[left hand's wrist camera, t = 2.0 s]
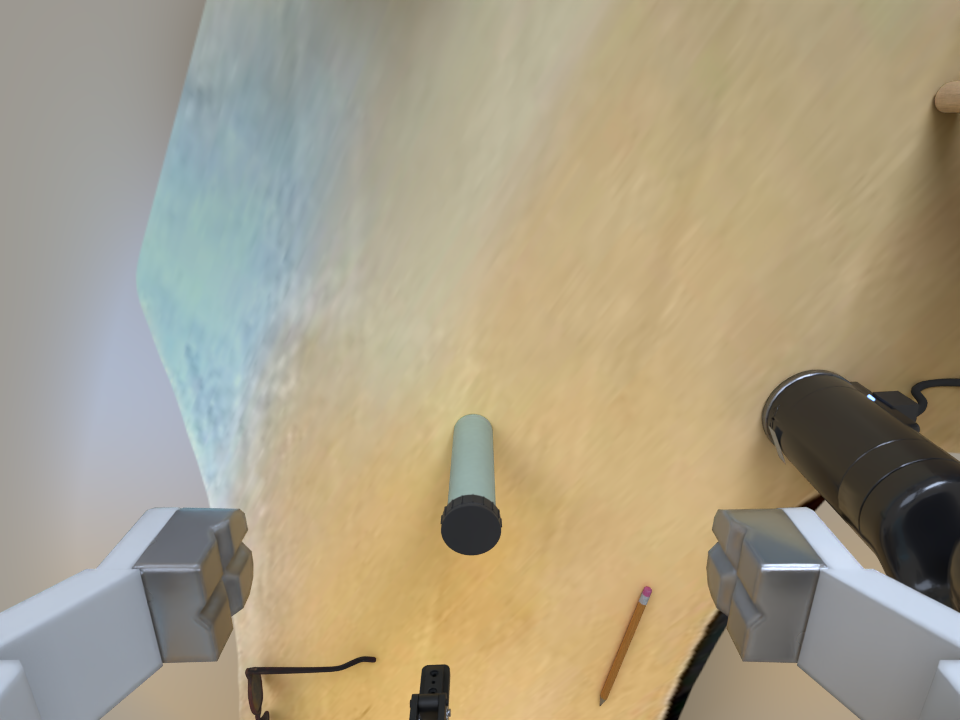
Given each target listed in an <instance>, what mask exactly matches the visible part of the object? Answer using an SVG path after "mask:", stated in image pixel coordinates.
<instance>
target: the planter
mask: <svg viewBox="0 0 960 720" xmlns="http://www.w3.org/2000/svg"><path fill="white" fill-rule="evenodd" d="M935 105H936V108H937V109H938V110H939V111H941V112H943V113H960V81H951V82H948V83H946V84H944V85H943V86H942V87H941V88H940V89H939V90H938V92H937V94H936V97H935Z"/></svg>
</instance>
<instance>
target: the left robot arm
mask: <svg viewBox="0 0 960 720" xmlns="http://www.w3.org/2000/svg"><path fill="white" fill-rule="evenodd" d="M247 531H248V527H247V523H246V518H245V513H243V512H242V511H241V510H240V509H222V508H152V509H149V510H147V511H146V512H145V513H144V514H143V515H142V516H141V518H140V519H139V520H138V521H137V522H136V523H135V524H134V526H133V527H132V528H131V529H130V530H129V531H128V532H127V534H126V535H125V536H124V537H123V538H122V539H121V541H120V542H119V543H118V544H117V545H116V546H115V547H114V549H113V550H112V551H111V552H110V553H109V554H108V556H107V557H106V558H105V559H104V560H103V561H102V562H101V564H100V565H99V566H98V567H97V568H96V569H86V570H83V571H81V572H80V573H78V574H76V575H74V576H72V577H70V578H68V579H66V580H64V581H62V582H60V583H58V584H56V585H54V586H52V587H50V588H48V589H46V590H44V591H42V592H40V593H38V594H36V595H34V596H32V597H30V598H29V599H27V600H24V601H22V602H21V603H19V604H17V605H15V606H13V607H11V608H9V609H7V610H5V611H3V612H1V613H0V720H99V719H101V718H102V717H103V716H104V715H105V714H107V713H108V712H109V711H110V710H111V709H112V708H114V707H115V706H116V705H117V704H118V703H120V702H121V701H122V700H123V699H124V698H125V697H126V696H128V695H129V694H130V693H131V692H133V691H134V690H135V689H136V688H137V687H138V686H140V685H141V684H142V683H143V682H144V681H145V680H147V679H148V678H149V677H150V676H151V675H153V674H154V673H155V672H156V671H157V670H158V669H160V668H161V667H162V666H163V664H162V663H177V662H211V661H218V659H219V657H220V654H221V652H222V650H223V648H224V646H225V644H226V642H227V640H228V638H229V636H230V634H231V632H232V630H233V624H232V618H231V616H233V615H234V614H236V613H237V612H238V611H240V610H241V609H243V608H244V605H245V603H246V601H247V599H248V597H249V594H250V590H251V585H252V581H253V558H252V551H251V550H250V549H249V548H248V547H247V546H246V545H245V544H244V543H243V542H242V540H243V538H244V536H245V534H246V533H247ZM712 531H713V533H714V534H715V536H716V538H717V540H718V542H717V543H716V544H715V545H714V546H713V547H712V548H711V549H710V550H709V551H708V559H707V567H706V569H707V581H708V587H709V590H710V594H711V597H712V599H713V601H714V603H715V605H716V608H717V609H719V610H720V611H722V612H723V613H724V614H726V615H727V616H729V618H728V624H727V630H728V632H729V634H730V636H731V638H732V640H733V642H734V644H735V646H736V648H737V650H738V652H739V654H740V656H741V658H742V660H743V661H748V662H783V663H797V666H798V667H799V668H801V669H802V670H803V671H804V672H805V673H807V674H808V675H809V676H810V677H811V678H812V679H814V680H815V681H816V682H817V683H818V684H819V685H821V686H822V687H823V688H824V689H825V690H827V691H828V692H829V693H830V694H831V695H832V696H834V697H835V698H836V699H837V700H838V701H839V702H841V703H842V704H843V705H844V706H845V707H847V708H848V709H849V710H850V711H851V712H852V713H854V714H855V715H856V716H857V717H858V718H860V719H861V720H960V613H959V612H957V611H955V610H953V609H951V608H949V607H947V606H945V605H943V604H941V603H939V602H937V601H935V600H933V599H931V598H929V597H928V596H926V595H924V594H922V593H920V592H918V591H916V590H914V589H912V588H910V587H908V586H906V585H904V584H902V583H900V582H898V581H896V580H894V579H892V578H890V577H888V576H886V575H884V574H882V573H880V572H878V571H877V570H875V569H864V568H863V567H862V566H861V565H860V564H859V563H858V561H857V560H856V559H855V558H854V557H853V556H852V554H851V553H850V552H849V551H848V550H847V549H846V548H845V546H844V545H843V544H842V543H841V542H840V541H839V540H838V538H837V537H836V536H835V535H834V534H833V533H832V531H831V530H830V529H829V528H828V527H827V526H826V525H825V523H824V522H823V521H822V520H821V519H820V518H819V516H818V515H817V514H816V513H815V512H814V511H813V510H811V509H809V508H807V507H796V508H777V509H728V510H718V511H717V513H716V515H715V517H714V522H713V527H712Z"/></svg>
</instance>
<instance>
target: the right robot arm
mask: <svg viewBox="0 0 960 720" xmlns="http://www.w3.org/2000/svg"><path fill="white" fill-rule="evenodd" d="M936 386H960V379H935V380H928V381H922V382H920V383H918V384H916V385H915V386H913V387H912V390H911V393H912V395H913V397H914V398H915V399H916V400H917V402H918V404H917V403H916V402H914V401H913V400H911V399H910V398H908V397H907V396H905V395H903V394H902V393H900V392H899V391H888V392H873V393H872V392H871V391H869V390H868V389H867V388H865V387H864V386H862V385H861V384H859V383H858V382H849V381H847V380H846V379H844V378H843V377H841V376H840V375H838V374H836V373H833V372H830V371H826V370H810V371H805V372H801V373H798V374H796V375H794V376H792V377H790V378H788V379H786V380H785V381H784V382H782V383H781V384H780V385H779V386H778V387H777V388H776V389H775V390H774V391H773V392H772V393H771V395H770V396H769V398H768V400H767V402H766V404H765V406H764V410H763V415H762V424H763V428H764V431H765V434H766V435H767V437H768V438H769V440H770V441H771V442H772V443H773V444H774V445H775V446H776V449H777V452H778V455H779V457H780V458H781V460H782V461H783V462H784V463H785V460H784V457H783V454H784V455H785V456H786V457H787V458H788V459H789V460H790V462H791V463H792V464H793V465H794V466H795V467H796V468H797V469H798V470H799V471H800V473H801V474H802V475H803V476H804V477H805V478H806V479H807V480H808V481H809V482H810V483H811V485H812V486H813V487H814V488H815V489H816V490H817V491H818V492H819V493H820V494H821V496H822V497H823V498H824V499H825V500H826V501H827V502H828V503H829V504H830V505H831V506H832V508H833V509H834V510H835V511H836V512H837V513H838V514H839V515H840V516H841V517H842V518H843V520H844V521H845V522H846V523H847V524H848V525H849V526H850V527H851V528H852V529H853V530H854V531H855V533H856V534H857V535H858V536H859V537H860V538H861V539H862V540H863V541H864V542H865V543H866V545H867V546H868V547H869V548H870V549H871V550H872V551H873V552H874V553H875V555H876V556H877V558H878V559H879V561H880V563H881V565H882V567H883V569H884V571H885V573H886V575H887V576H888V577H890V578H892V579H894V580H896V581H898V582H900V583H902V584H904V585H906V586H908V587H910V588H912V589H914V590H916V591H918V592H920V593H922V594H924V595H926V596H928V597H929V598H931V599H933V600H935V601H937V602H939V603H941V604H943V605H945V606H947V607H949V608H951V609H953V610H955V611H957V612H959V613H960V461H958V460H957V459H955V458H954V457H953V456H951V455H950V454H948V453H947V452H946V451H944V450H943V449H941V448H940V447H938V446H937V445H935V444H934V443H933V442H931V441H930V440H928V439H927V438H926V437H924V436H923V435H921V434H920V433H919V432H920V427H919V425H918V424H917V423H916V418H917V416H919V415H920V414H922V413H923V412H924V411H925V409H926V407H927V403H928V402H927V400H926V398H925V397H924V396H923V394H922V393H921V392H920V391H922V390H923V389H925V388H929V387H936ZM781 451H782V452H781ZM782 453H783V454H782ZM785 464H786V463H785ZM449 690H450V668H449V666H448V665H427V666H425V667H423V669H422V674H421V684H420V693H419V694H412V699H411V700H410V708H411V709H410V718H409V720H449V717H451V709H449Z"/></svg>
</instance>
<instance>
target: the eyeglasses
mask: <svg viewBox="0 0 960 720" xmlns="http://www.w3.org/2000/svg"><path fill="white" fill-rule="evenodd" d="M360 662H376V658H375V657H366V656H364V657H359V658H356V659H354V660H351V661H349V662H347V663H345V664H343V665H340V666H333V667H252V668H247V669H246V671H245V674H246V677H247V679H248V699H249V705H250V709H251V711H252V713H253V714H254V715H255V718H256V720H269V712H268V711H265V713H264V715H263V716H262V717H261V718H260V715H261V706H262V701H263V689H262V679H261V675H260V674H292V673H317V672H334V671H340V670H344V669H346V668H348V667H351V666H353V665H355V664H358V663H360Z"/></svg>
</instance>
